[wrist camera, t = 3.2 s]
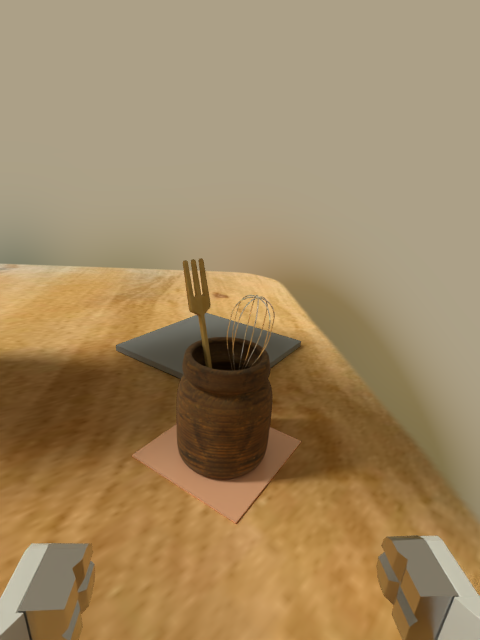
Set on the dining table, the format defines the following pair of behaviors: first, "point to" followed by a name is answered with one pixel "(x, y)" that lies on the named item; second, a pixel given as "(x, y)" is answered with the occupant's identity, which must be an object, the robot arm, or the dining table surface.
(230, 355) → the utensil holder
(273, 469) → the pink tile
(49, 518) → the dining table surface
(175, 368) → the charcoal mat
